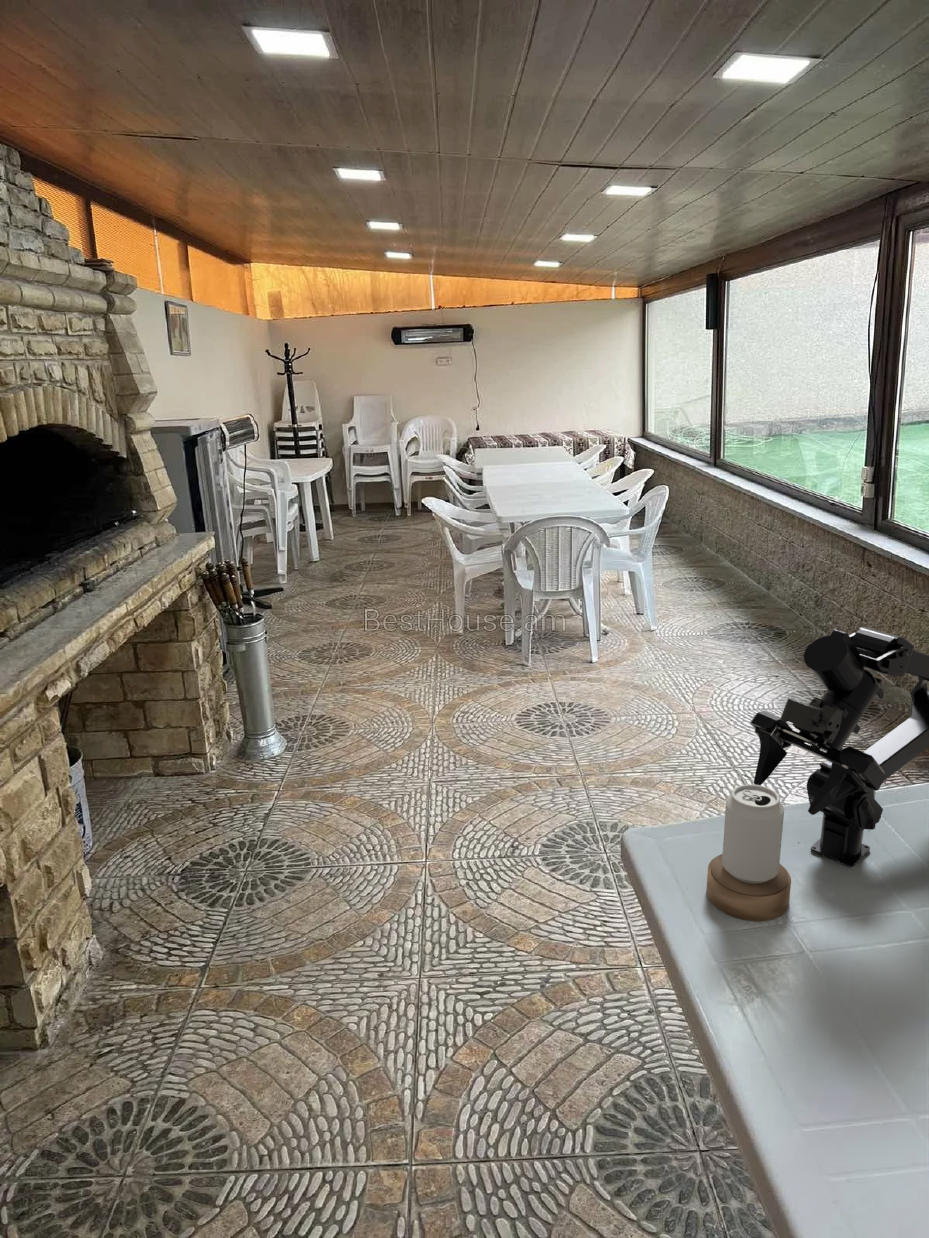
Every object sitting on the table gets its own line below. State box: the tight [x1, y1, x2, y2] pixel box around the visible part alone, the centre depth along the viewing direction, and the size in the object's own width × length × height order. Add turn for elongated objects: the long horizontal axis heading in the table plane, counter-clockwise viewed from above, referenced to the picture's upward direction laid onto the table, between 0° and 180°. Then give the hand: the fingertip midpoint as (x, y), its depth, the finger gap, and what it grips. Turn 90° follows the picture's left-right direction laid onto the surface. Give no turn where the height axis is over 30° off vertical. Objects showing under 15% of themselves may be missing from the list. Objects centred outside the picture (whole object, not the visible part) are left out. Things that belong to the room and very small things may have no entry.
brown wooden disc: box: [706, 853, 792, 922], centre depth 120 cm, size 11×11×4 cm
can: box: [722, 783, 785, 884], centre depth 117 cm, size 8×8×12 cm
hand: (782, 798), depth 119 cm, fingers open, 9 cm apart
